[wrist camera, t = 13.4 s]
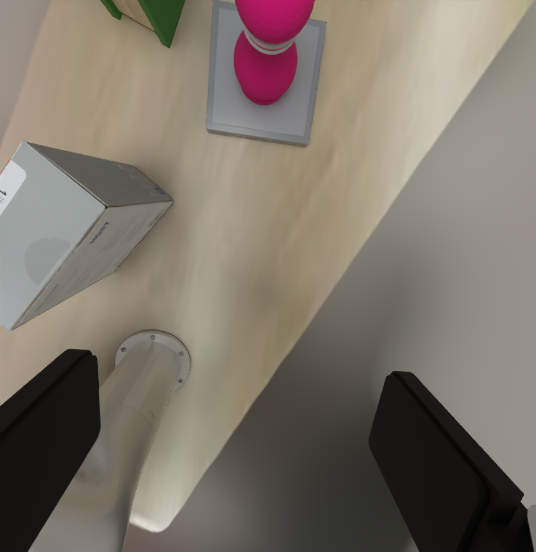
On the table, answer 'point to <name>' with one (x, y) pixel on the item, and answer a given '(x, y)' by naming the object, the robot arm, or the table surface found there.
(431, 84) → the table surface
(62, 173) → the hard drive box
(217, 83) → the slate stand
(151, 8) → the hardback book
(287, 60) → the pepper mill
